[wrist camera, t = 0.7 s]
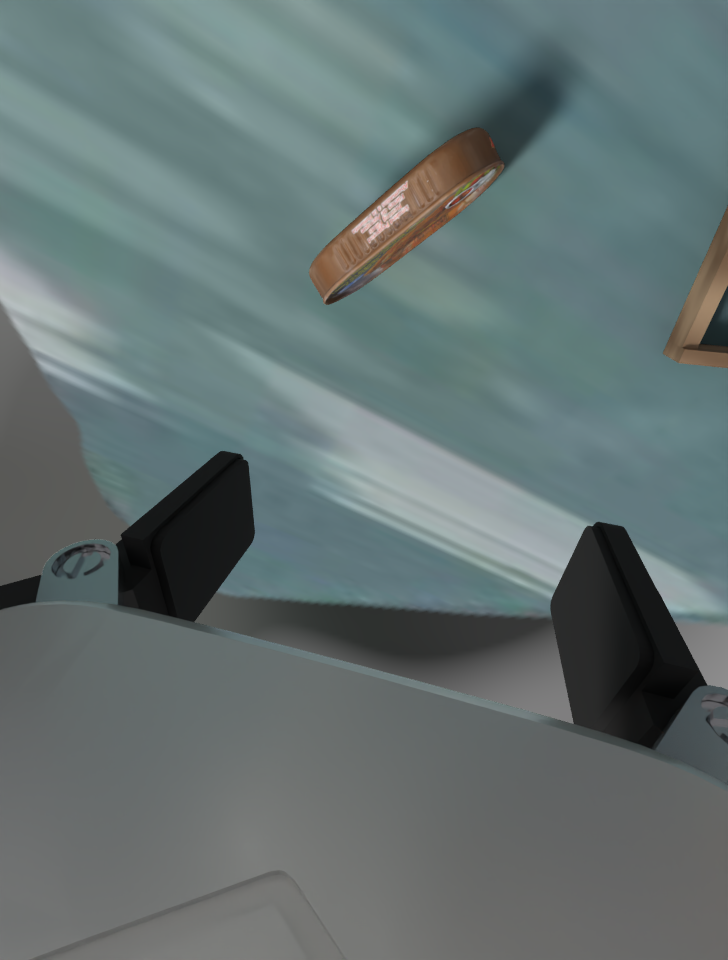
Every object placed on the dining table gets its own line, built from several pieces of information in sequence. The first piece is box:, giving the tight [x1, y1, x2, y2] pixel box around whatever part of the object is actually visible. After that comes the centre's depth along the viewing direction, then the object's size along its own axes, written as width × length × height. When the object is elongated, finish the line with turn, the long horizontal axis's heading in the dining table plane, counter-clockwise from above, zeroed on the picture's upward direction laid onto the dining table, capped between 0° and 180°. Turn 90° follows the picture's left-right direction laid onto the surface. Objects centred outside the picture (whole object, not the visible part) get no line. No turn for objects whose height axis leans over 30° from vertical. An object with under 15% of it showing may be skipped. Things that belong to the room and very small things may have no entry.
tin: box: [309, 128, 504, 305], centre depth 29 cm, size 15×3×8 cm, turn 125°
